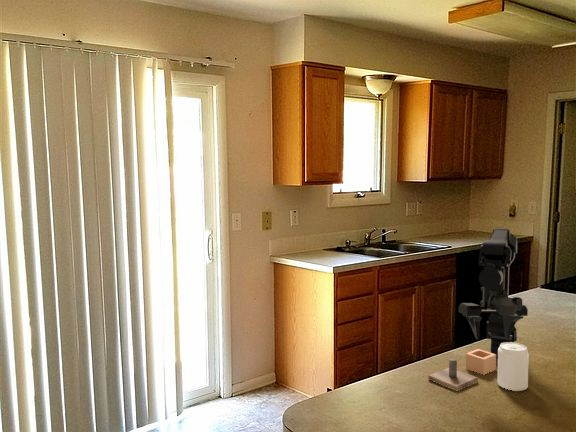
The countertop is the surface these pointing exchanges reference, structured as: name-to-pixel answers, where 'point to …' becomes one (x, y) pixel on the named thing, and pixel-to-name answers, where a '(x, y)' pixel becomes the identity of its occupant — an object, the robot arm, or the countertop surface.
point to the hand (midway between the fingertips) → (492, 339)
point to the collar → (481, 361)
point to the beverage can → (513, 366)
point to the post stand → (453, 377)
